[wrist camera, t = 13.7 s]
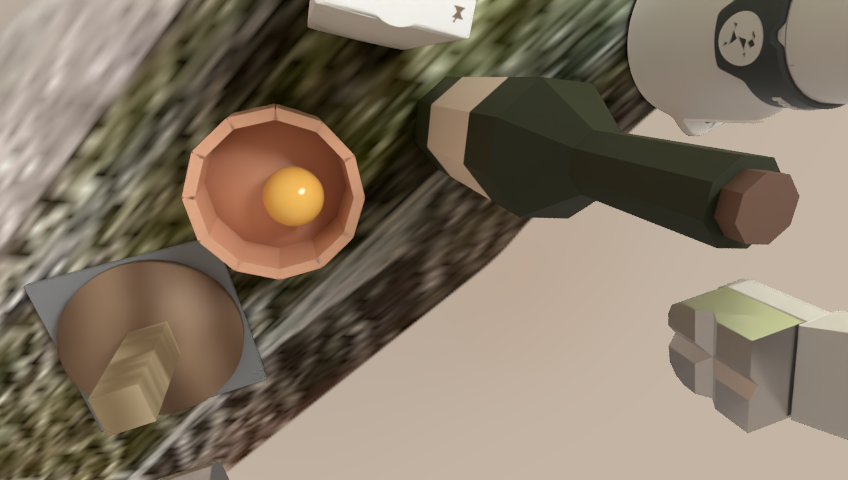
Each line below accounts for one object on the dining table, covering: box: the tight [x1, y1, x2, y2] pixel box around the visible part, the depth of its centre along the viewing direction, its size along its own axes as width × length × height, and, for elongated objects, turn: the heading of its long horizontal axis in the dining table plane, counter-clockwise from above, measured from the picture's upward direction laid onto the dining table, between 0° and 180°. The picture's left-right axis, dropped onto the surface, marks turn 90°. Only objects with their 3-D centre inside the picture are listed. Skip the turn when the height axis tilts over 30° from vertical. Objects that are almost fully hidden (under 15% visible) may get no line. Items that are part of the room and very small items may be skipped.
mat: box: [24, 240, 267, 432], centre depth 42 cm, size 14×14×1 cm
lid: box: [56, 259, 244, 436], centre depth 37 cm, size 14×14×10 cm
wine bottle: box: [414, 77, 799, 248], centre depth 30 cm, size 8×8×30 cm
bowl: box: [182, 104, 365, 279], centre depth 38 cm, size 12×12×6 cm
